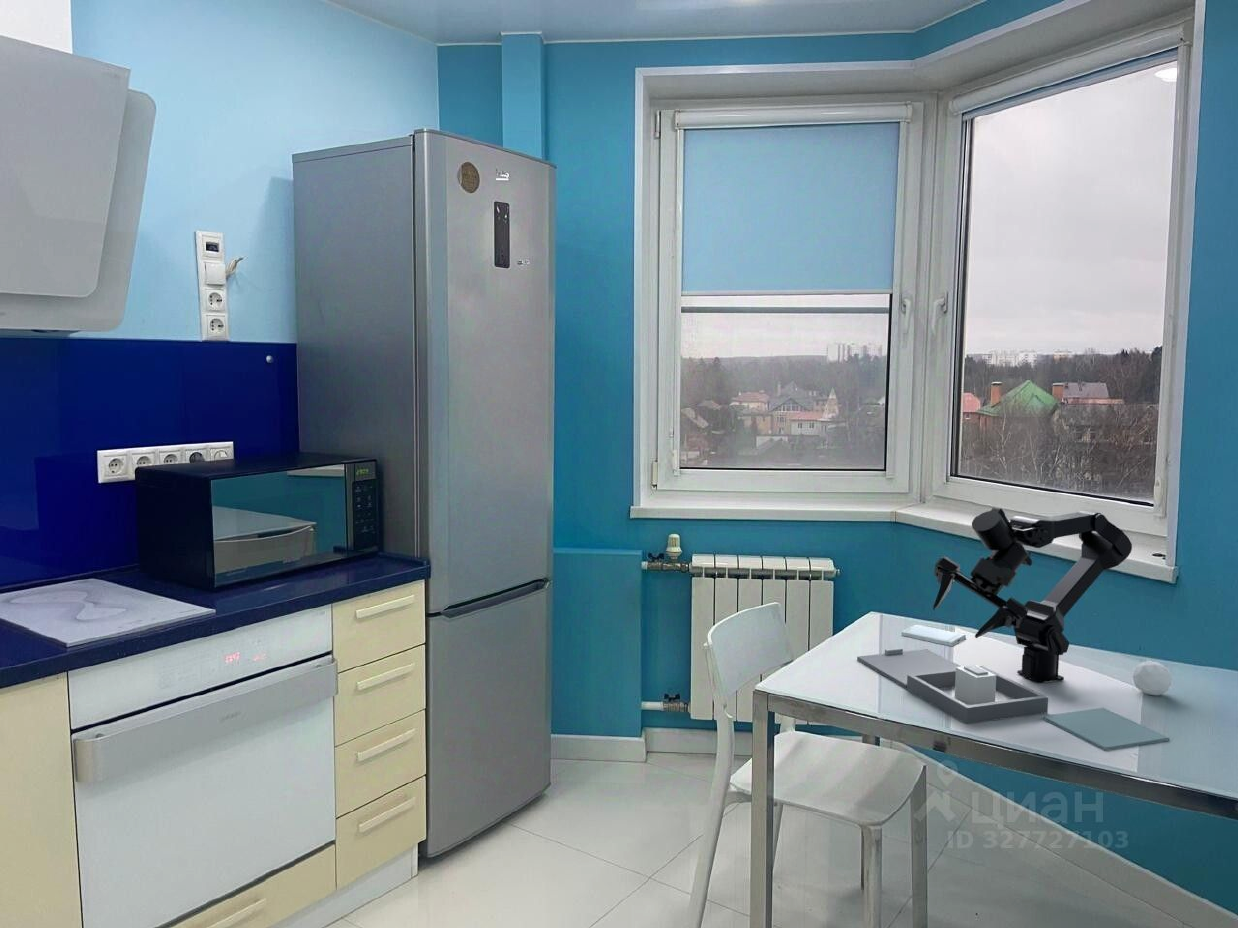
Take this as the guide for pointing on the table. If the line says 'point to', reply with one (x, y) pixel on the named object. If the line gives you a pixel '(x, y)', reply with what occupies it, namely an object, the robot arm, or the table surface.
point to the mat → (1105, 728)
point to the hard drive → (933, 635)
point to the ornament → (1152, 678)
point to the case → (933, 670)
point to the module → (975, 685)
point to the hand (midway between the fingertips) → (954, 622)
